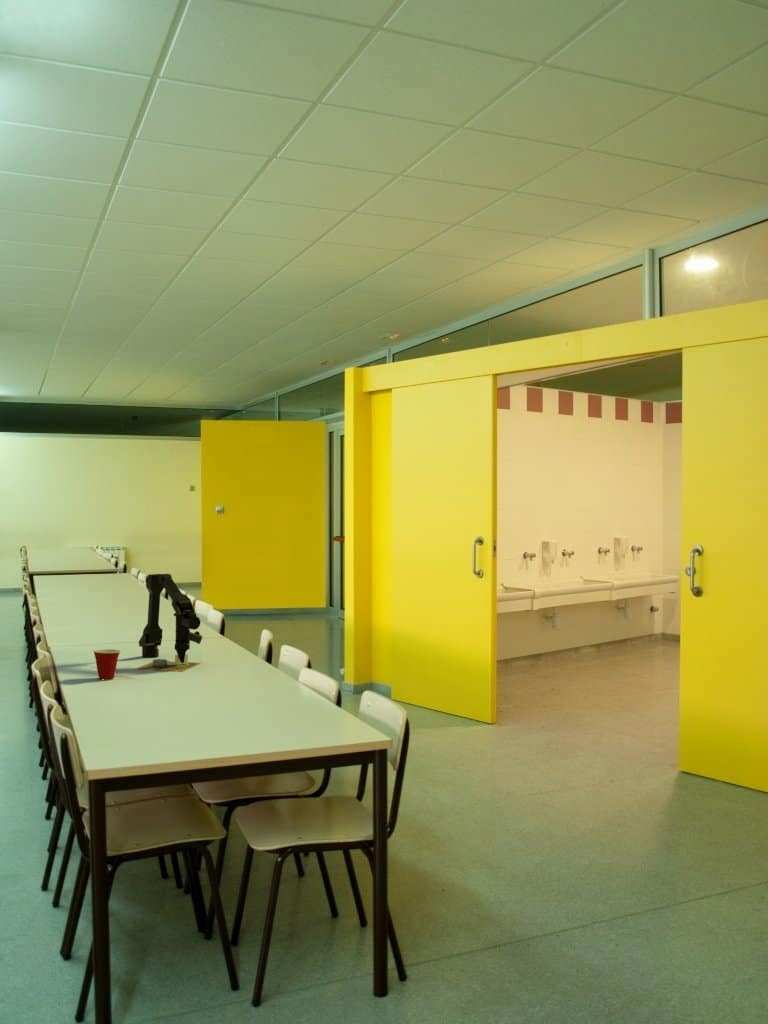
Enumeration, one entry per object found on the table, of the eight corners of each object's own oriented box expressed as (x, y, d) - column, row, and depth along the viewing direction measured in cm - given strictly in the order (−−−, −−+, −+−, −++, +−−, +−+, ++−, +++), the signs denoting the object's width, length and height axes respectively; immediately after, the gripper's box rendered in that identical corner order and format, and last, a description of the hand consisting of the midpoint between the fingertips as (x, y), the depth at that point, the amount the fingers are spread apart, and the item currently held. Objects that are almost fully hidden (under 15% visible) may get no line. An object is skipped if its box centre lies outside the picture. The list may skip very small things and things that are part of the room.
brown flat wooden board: (133, 672, 367) (133, 669, 366) (156, 663, 387) (156, 660, 387) (181, 674, 362) (181, 671, 362) (202, 665, 382) (202, 662, 382)
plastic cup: (126, 677, 355) (126, 648, 355) (107, 682, 345) (107, 652, 345) (106, 675, 360) (106, 646, 360) (87, 680, 350) (87, 650, 350)
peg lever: (155, 667, 369) (155, 658, 368) (151, 665, 374) (151, 656, 374) (189, 664, 376) (189, 655, 376) (184, 662, 381) (184, 652, 381)
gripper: (201, 629, 367) (201, 666, 367) (201, 623, 385) (201, 658, 385) (174, 630, 364) (174, 667, 365) (175, 624, 383) (175, 659, 383)
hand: (182, 662), depth 374 cm, fingers closed
